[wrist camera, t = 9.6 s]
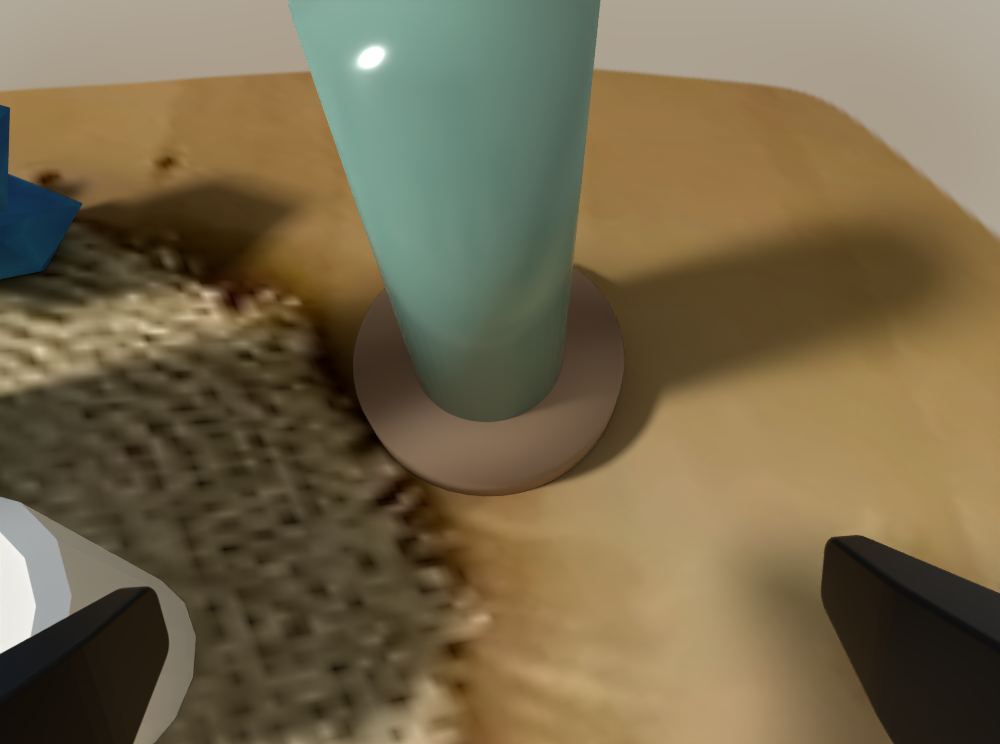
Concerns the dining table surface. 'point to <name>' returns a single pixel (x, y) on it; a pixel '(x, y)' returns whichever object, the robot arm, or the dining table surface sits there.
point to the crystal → (28, 217)
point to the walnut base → (503, 444)
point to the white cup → (83, 598)
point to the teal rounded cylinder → (464, 177)
